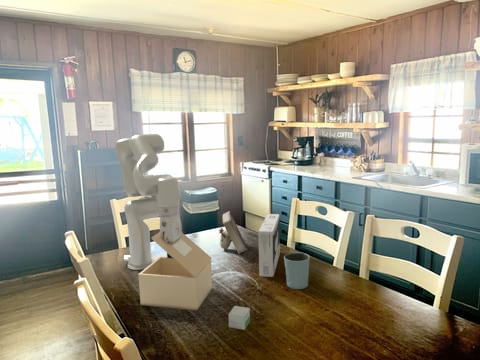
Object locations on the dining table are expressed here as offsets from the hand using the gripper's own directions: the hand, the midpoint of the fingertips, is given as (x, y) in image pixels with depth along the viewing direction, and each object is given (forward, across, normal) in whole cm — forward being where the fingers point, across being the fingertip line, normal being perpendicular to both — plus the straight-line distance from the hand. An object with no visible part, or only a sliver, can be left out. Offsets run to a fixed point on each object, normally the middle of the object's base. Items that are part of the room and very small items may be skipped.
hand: (171, 257), depth 140 cm
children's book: (+16, +55, -9) cm, 58 cm away
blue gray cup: (+16, +18, -46) cm, 52 cm away
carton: (+16, 0, -2) cm, 16 cm away
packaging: (+16, +39, -31) cm, 53 cm away
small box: (+16, -15, -30) cm, 37 cm away
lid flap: (-3, 0, -5) cm, 6 cm away
